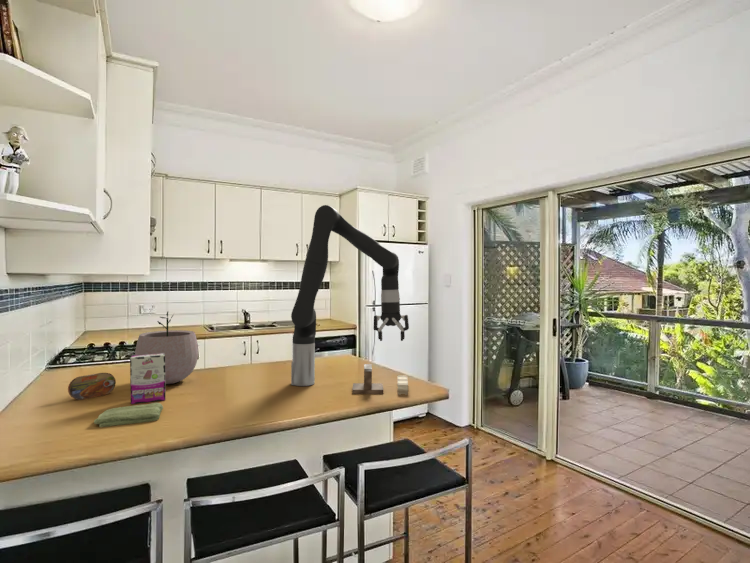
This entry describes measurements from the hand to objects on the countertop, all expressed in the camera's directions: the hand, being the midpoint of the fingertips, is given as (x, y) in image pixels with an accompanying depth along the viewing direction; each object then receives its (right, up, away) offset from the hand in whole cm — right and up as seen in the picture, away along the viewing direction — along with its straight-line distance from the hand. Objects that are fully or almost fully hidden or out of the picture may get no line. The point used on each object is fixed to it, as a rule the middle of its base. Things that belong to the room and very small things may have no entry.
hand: (391, 340), depth 175 cm
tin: (-111, -19, -16) cm, 114 cm away
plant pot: (-94, -19, +5) cm, 96 cm away
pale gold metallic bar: (+4, -20, -2) cm, 20 cm away
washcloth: (-84, -20, -39) cm, 95 cm away
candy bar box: (-88, -19, -21) cm, 93 cm away
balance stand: (-10, -19, -4) cm, 22 cm away
